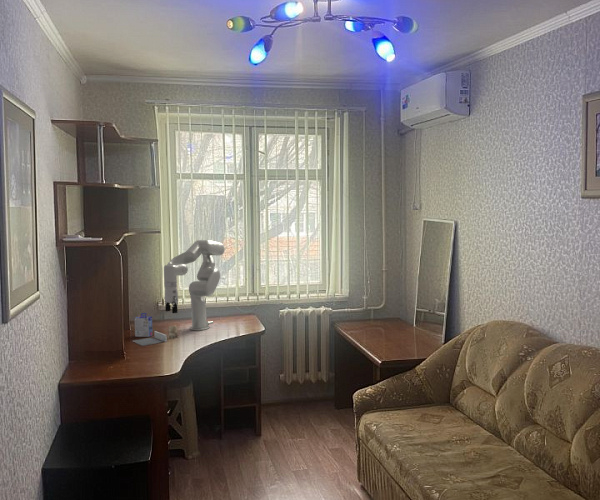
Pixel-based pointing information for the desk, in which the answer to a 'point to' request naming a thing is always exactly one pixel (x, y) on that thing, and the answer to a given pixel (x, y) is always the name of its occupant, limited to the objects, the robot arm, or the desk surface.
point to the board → (147, 341)
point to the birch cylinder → (173, 331)
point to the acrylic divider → (160, 336)
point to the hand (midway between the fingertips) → (171, 312)
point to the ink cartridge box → (143, 326)
